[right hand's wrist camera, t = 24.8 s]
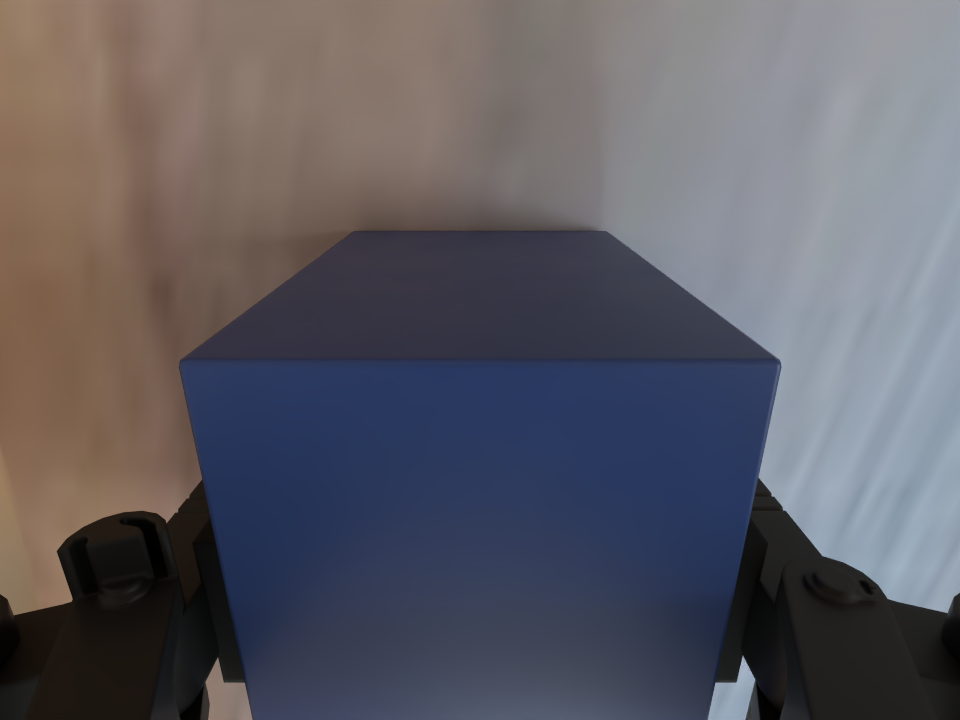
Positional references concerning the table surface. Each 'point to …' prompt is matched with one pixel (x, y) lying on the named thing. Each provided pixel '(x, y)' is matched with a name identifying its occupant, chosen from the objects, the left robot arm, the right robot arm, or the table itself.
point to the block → (480, 480)
